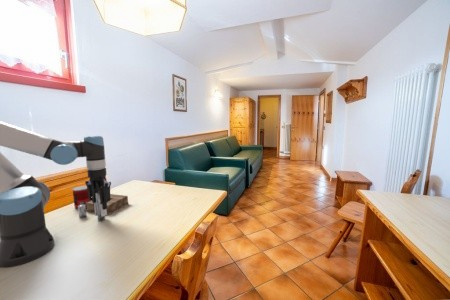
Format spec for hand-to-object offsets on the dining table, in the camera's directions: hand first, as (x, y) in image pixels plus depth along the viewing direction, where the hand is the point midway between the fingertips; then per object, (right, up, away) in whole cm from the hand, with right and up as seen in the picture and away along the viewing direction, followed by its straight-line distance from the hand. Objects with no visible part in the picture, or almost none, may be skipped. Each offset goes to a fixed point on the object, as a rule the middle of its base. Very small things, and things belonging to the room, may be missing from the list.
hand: (101, 214), depth 96 cm
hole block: (-5, -1, +14) cm, 15 cm away
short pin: (-12, -2, +3) cm, 12 cm away
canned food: (-21, -1, +16) cm, 26 cm away
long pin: (0, -2, 0) cm, 3 cm away
